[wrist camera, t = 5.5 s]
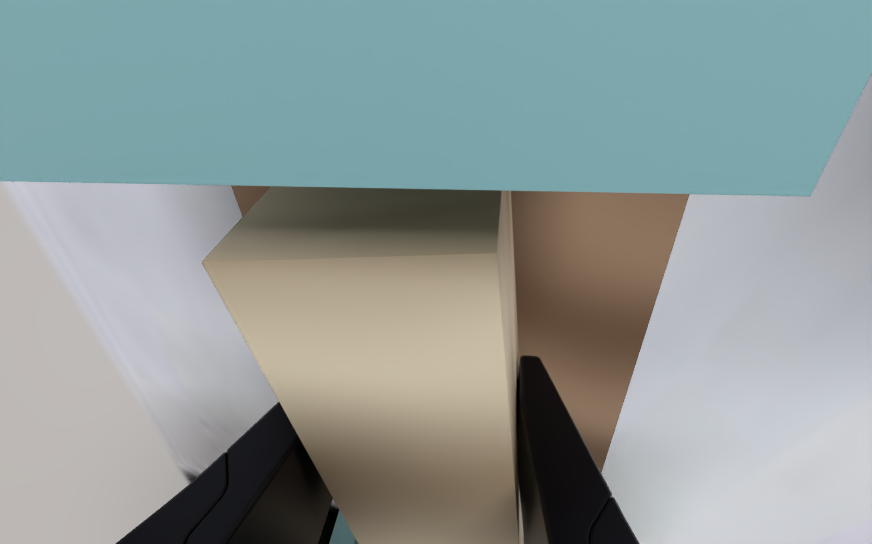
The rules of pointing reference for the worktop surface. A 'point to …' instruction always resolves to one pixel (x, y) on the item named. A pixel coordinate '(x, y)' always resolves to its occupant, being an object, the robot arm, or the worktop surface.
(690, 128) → the cap fixed
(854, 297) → the worktop surface
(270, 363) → the wooden block
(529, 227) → the board
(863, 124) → the worktop surface
